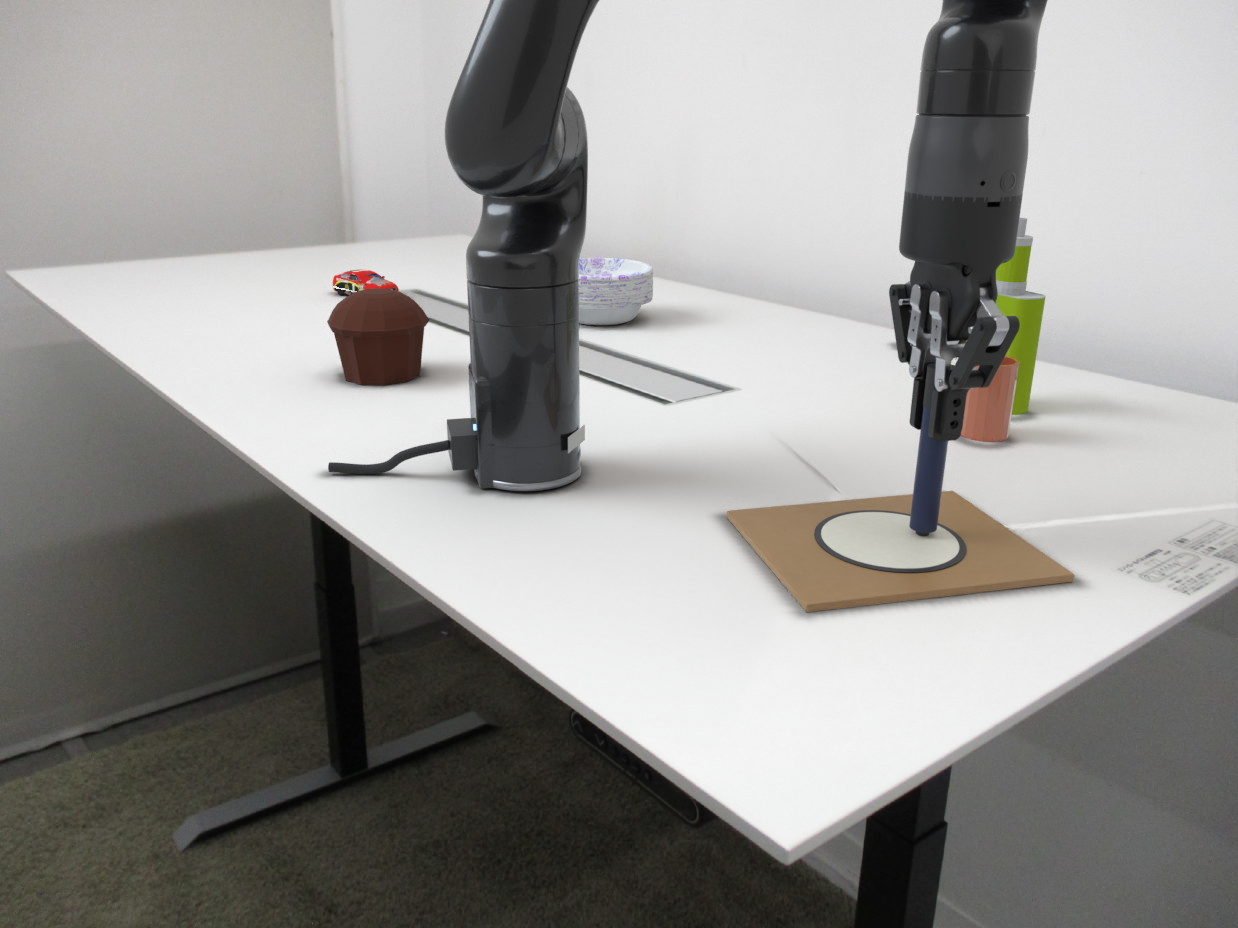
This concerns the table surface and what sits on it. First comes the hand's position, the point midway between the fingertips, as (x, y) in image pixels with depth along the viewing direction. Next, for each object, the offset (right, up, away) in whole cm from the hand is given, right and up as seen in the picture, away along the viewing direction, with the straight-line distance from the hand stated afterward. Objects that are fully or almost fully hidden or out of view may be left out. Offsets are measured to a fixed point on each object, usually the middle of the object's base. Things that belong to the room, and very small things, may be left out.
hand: (934, 432), depth 73 cm
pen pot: (+13, 0, +26) cm, 29 cm away
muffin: (-51, +8, +46) cm, 69 cm away
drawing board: (-3, -9, +2) cm, 9 cm away
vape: (+18, +3, +35) cm, 39 cm away
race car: (-64, +25, +92) cm, 115 cm away
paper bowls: (-25, +19, +76) cm, 83 cm away
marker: (0, -8, +3) cm, 8 cm away
